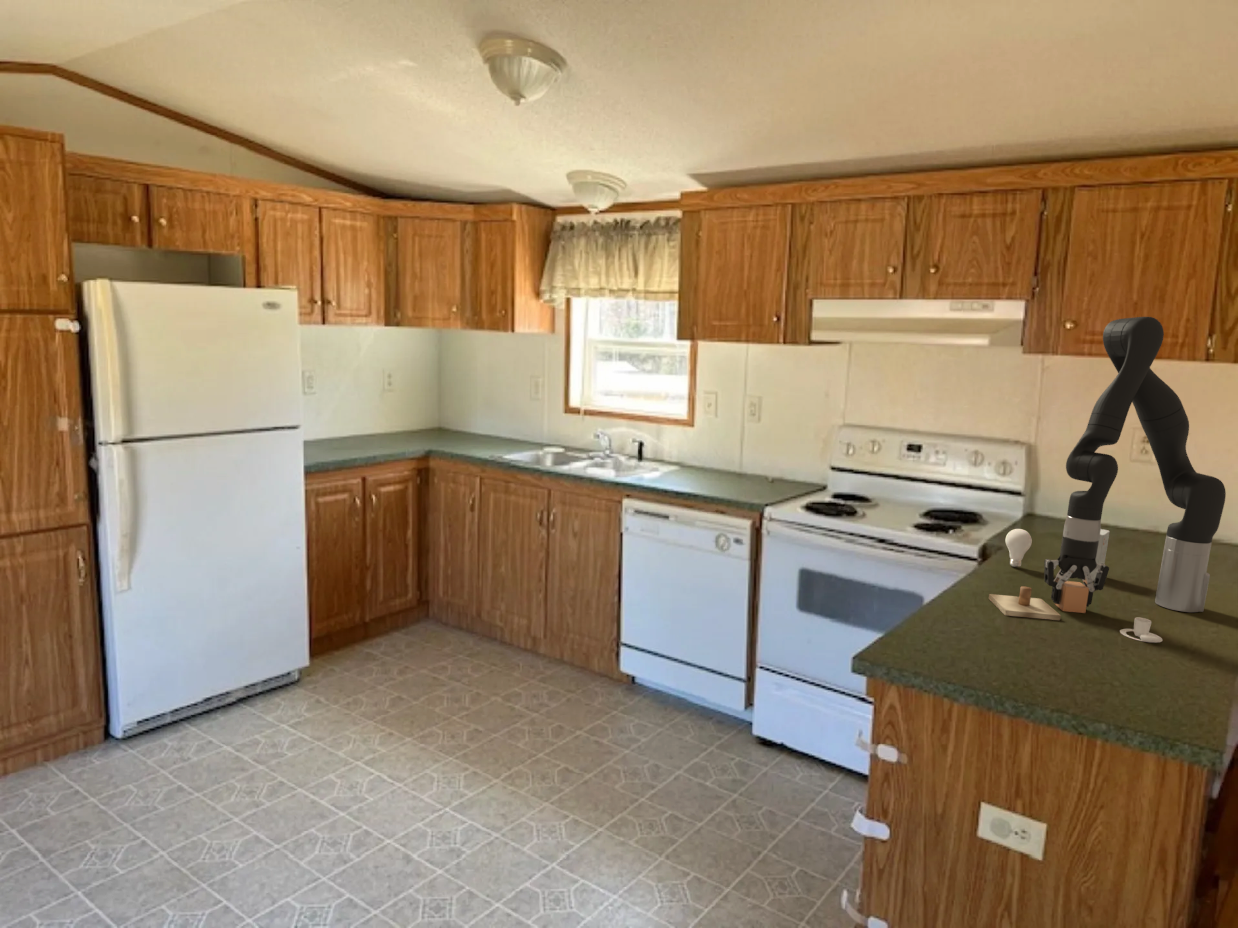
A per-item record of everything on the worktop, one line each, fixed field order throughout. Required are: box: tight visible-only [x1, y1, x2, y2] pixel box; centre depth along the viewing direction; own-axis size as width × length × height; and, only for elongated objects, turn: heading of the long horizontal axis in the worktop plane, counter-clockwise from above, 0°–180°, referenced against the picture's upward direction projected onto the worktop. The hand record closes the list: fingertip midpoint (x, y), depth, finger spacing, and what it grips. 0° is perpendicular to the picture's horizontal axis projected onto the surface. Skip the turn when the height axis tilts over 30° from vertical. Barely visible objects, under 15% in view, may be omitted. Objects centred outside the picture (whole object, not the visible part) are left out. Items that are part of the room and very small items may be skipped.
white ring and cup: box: [1119, 617, 1163, 644], centre depth 182 cm, size 9×8×4 cm
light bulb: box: [1005, 528, 1033, 568], centre depth 233 cm, size 7×7×11 cm
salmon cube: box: [1054, 580, 1089, 614], centre depth 199 cm, size 5×5×6 cm
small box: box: [1090, 528, 1111, 582], centre depth 228 cm, size 8×6×13 cm
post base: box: [988, 585, 1062, 621], centre depth 196 cm, size 12×12×5 cm
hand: (1070, 604), depth 199 cm, fingers open, 6 cm apart
